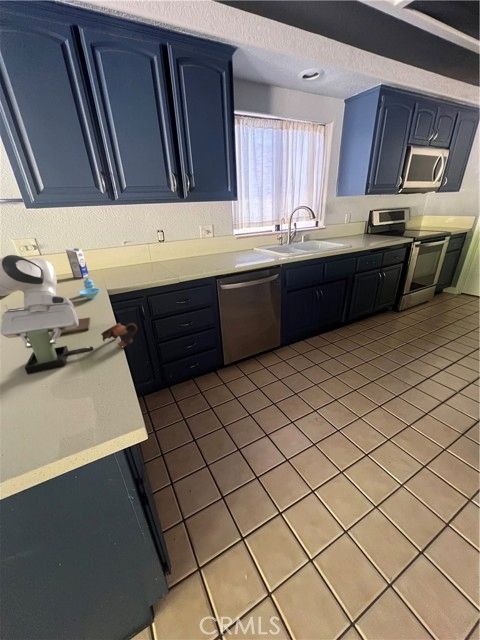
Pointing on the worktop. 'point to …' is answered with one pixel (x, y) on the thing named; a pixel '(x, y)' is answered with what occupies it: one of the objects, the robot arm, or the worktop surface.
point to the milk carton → (77, 263)
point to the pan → (50, 365)
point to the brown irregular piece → (121, 333)
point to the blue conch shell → (89, 289)
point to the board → (82, 326)
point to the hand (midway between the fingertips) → (41, 345)
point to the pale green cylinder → (42, 345)
